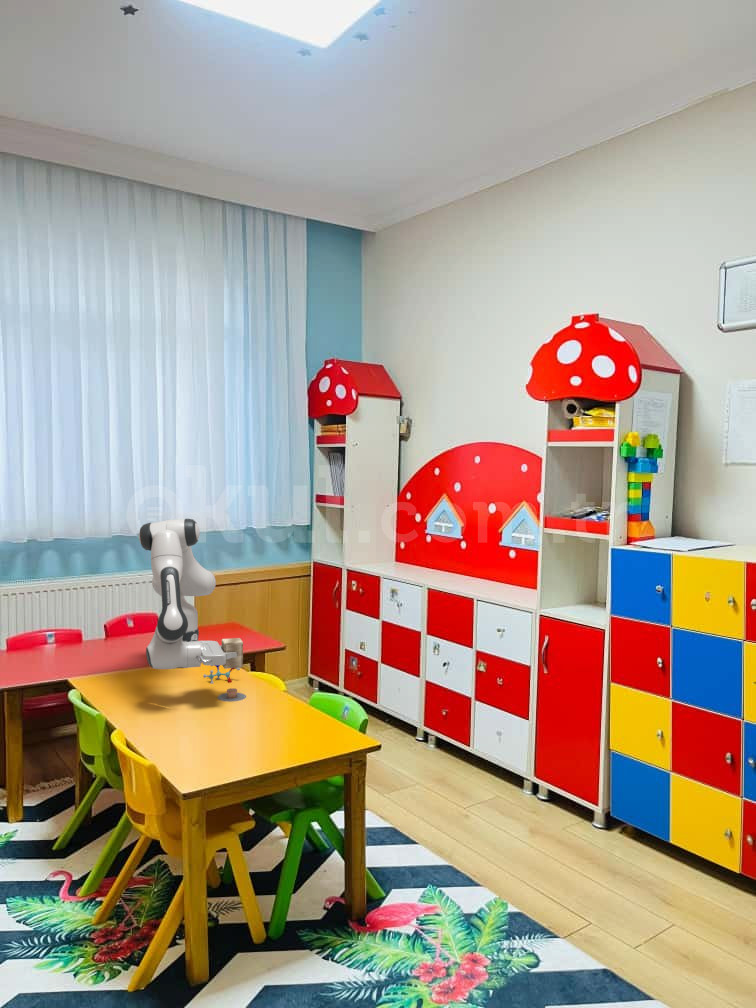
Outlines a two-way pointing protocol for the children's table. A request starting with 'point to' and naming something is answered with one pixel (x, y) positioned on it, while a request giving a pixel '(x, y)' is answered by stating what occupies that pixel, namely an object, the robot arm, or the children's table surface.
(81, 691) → the children's table surface
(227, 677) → the molecular model
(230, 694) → the pinkish-brown rounded lump
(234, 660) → the beige upright block
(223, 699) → the coaster
